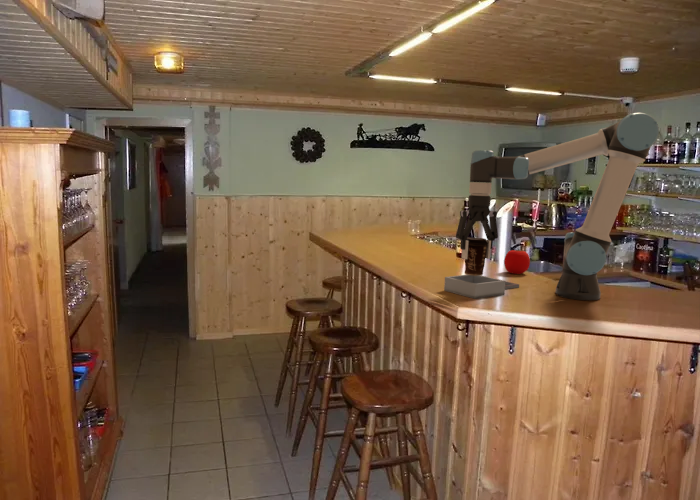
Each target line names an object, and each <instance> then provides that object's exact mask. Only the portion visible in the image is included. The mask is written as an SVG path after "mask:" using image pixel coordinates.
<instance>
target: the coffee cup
mask: <svg viewBox="0 0 700 500" xmlns="http://www.w3.org/2000/svg"><path fill="white" fill-rule="evenodd" d="M486 240H487V238H483V237H469V236H468V238H467V241H468V257H467V259H464V264H465V270H464V275H472V276H479V275H481V276H484V275H483V274H484V268H485V263H486V259H487V258H486V252H487V246H488V243H487V242H486Z"/></svg>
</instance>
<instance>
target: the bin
mask: <svg viewBox="0 0 700 500" xmlns="http://www.w3.org/2000/svg"><path fill="white" fill-rule="evenodd" d="M505 281H506V280H503V279H498V278H494V277H489V276H485V275H479V276H472V275H467V274H460V275H452V276H445V277H444V285H443V286H444V288H443V290H444V292H449V293H453V294H456V295H459V296H463V297H465V298H466V297H467V298H470V299H474V300H475V299H476V300H477V299H482V298H490V297H496V296H504V295H505V292H506V291H505V290H506V289H505Z"/></svg>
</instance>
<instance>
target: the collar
mask: <svg viewBox="0 0 700 500" xmlns="http://www.w3.org/2000/svg"><path fill="white" fill-rule="evenodd" d="M504 281H505V290H510V289H511V290H512V289H517V288H520V284H519V283H514V282H511V281H510V282H509V281H506V280H504Z"/></svg>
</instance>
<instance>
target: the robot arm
mask: <svg viewBox="0 0 700 500" xmlns="http://www.w3.org/2000/svg"><path fill="white" fill-rule="evenodd" d="M659 133H660V127H659V123H658V122H657V121H656V119H655V118H654V117H653V116H652V115H650V114H647V113H644V112H634V113H630V114H628V115H625V116H624V117H623V118H622V119H621V120H619V121H617V122H615V123H613V124H612V125H609V126H607V127H604V128H600V129H599V130H598V131H597V132H596V133H593V134H590V135H586V136H583V137H579V138H576V139H573V140H570V141H566V142H562V143H559V144H556V145H552V146H549V147H545V148H541V149H537V150H535V151H531V152H528V153H525V154H521V155H518V156H495V155H494V151H493V150H490V149H487V150H485V149H483V150H482V149H480V150H479V149H476V150H473V152H471V157H470V169H469V170H470V171H469V172H470V173H469V186H468V187H469V189H468V190H469V191H468V192H469V194H470V195H468V203H467V204H468V208H467V210H460V212H459V221H458V226H457V230H456V234H455V238H456V239H459V240H460V247H459V248H460V250H461V259H464V260H465V259H467V257H468V241H467V238H468V237H469V235H470V233H471V231H472V229H473V227H474V225H475V224H476V222H480V223H481V224H482V225H481V226H482V227H483V231H484V233H485V234H484V235H485V237H486V242H487V243H488V246H487V252H486V258H485V259H487V260H490V258H491V250H492V249H493V243H494V242H493V241H495V239H498V238H499V233H498V224H497V215H498V212H497V211H495V210H491V209H490V207H491V200H492V199H491V198H492V197H491V196H490V195H491V194H492V180H493V179H502V180H503V179H504V180H505V179H506V180H525V179H527V178H528V176H529V175H533V174H537V173H539V172H544V171H546V170H550V169H554V168H557V167H562V166H564V165H569V164H572V163H576V162H579V161H583V160H586V159H590V158H591V159H592V158H594V157H598V156H601V155H603V156H605V157H608V156H609V158H608V161H607V163H606V166H605V169H604V171H603V174H602V176H601V179H600V181H599V184H598V187H597V188H596V192H595V194H594V196H593V198H592V201H591V204H590V206H589V209H588V212H587V214H586V217H585V219H584V222H583V224H582V226H581V227H578V228H575V231H574V232H567V233H566V234H565V237H564V241H563V242H564V247H563V259H562V270H561V275H560V278H559V280H558V282H557V285H556V286H555V291H554V293H555V294H556V295H557V296H559V297H561V298H565V299H569V300H577V301H578V300H579V301H597V300H600V299H601V293H602V291H601V289H600V284H599V281H598V273H599V272H600V271H601V270H602V269H603V268H604V266H605V264H606V262H607V254H608V251H609V248H610V246H611V243H612V239H611V236H610V233H611V230H612V227H614V223H615V221H616V218H617V216H618V214H619V211H620V208H621V206H622V204H623V201H624V199H625V196H626V194H627V192H628V189H629V186H630V184H631V183H632V179H633V177H634V175H635V172H636V170H637V168H638V165H639V164H641V163H644V162H646V159H647V157H648V154H649V152H650V149H651V147H652V146H653V145H654V144H655V142H656V141H657V139H658V137H659ZM468 216H469V217H468ZM467 217H468V218H467ZM488 217H489V218H488Z"/></svg>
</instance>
